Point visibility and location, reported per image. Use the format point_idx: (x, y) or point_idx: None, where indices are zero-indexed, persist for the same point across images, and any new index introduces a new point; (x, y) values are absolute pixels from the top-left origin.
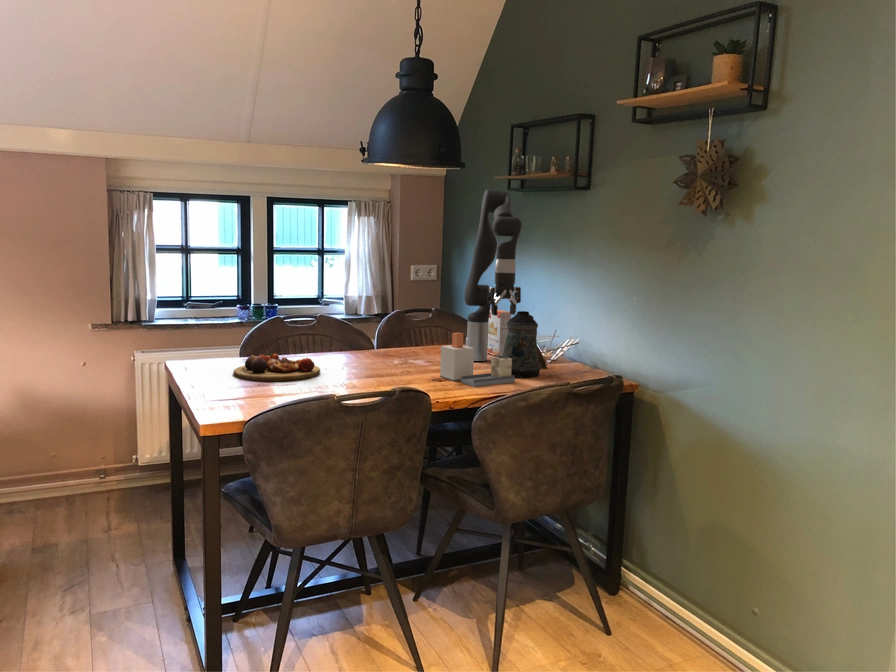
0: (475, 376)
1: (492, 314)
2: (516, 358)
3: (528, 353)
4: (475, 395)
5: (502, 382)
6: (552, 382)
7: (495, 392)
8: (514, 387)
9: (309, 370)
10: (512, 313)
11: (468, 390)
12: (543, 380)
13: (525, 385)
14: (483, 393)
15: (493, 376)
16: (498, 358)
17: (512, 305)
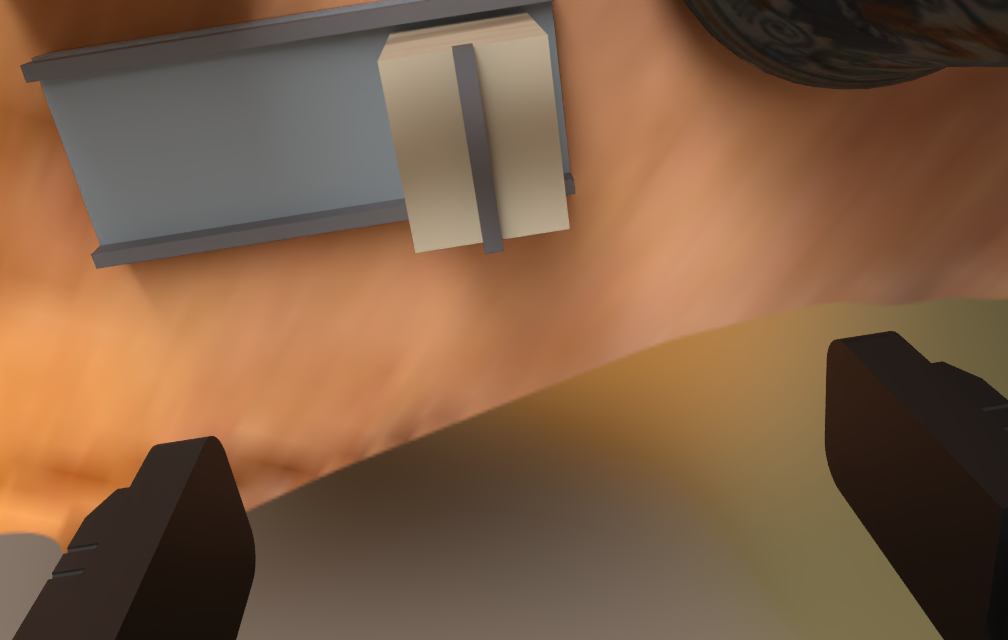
0: (194, 55)
1: (161, 453)
2: (775, 3)
3: (937, 65)
4: (31, 493)
5: None
6: (859, 284)
7: None
8: (446, 355)
9: None
10: (837, 449)
11: (25, 346)
12: (851, 193)
13: (574, 318)
14: (113, 458)
15: None
16: (419, 171)
17: (972, 602)
